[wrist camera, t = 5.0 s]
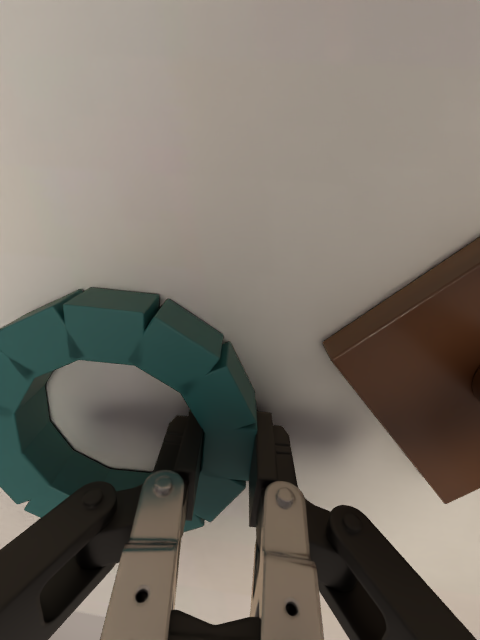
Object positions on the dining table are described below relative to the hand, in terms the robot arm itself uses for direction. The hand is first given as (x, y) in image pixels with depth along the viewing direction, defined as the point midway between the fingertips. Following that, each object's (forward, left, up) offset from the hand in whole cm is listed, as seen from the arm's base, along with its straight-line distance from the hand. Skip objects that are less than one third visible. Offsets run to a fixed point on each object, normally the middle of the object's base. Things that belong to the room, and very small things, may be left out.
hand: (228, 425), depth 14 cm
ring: (-3, -3, 0) cm, 4 cm away
